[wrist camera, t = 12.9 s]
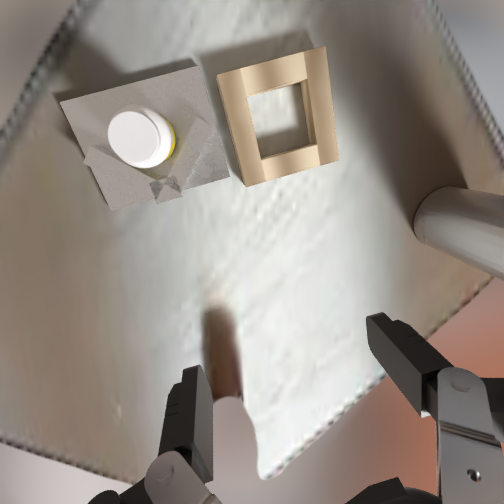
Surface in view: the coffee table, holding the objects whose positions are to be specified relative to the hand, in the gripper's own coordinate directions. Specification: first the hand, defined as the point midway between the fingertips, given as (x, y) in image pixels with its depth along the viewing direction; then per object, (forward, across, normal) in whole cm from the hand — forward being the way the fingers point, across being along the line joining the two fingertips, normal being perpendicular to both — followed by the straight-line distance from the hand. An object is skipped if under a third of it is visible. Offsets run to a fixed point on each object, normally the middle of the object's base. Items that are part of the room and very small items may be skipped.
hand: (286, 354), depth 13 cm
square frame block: (+27, -8, -10) cm, 29 cm away
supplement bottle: (+26, +7, -12) cm, 29 cm away
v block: (+26, +7, -12) cm, 30 cm away
